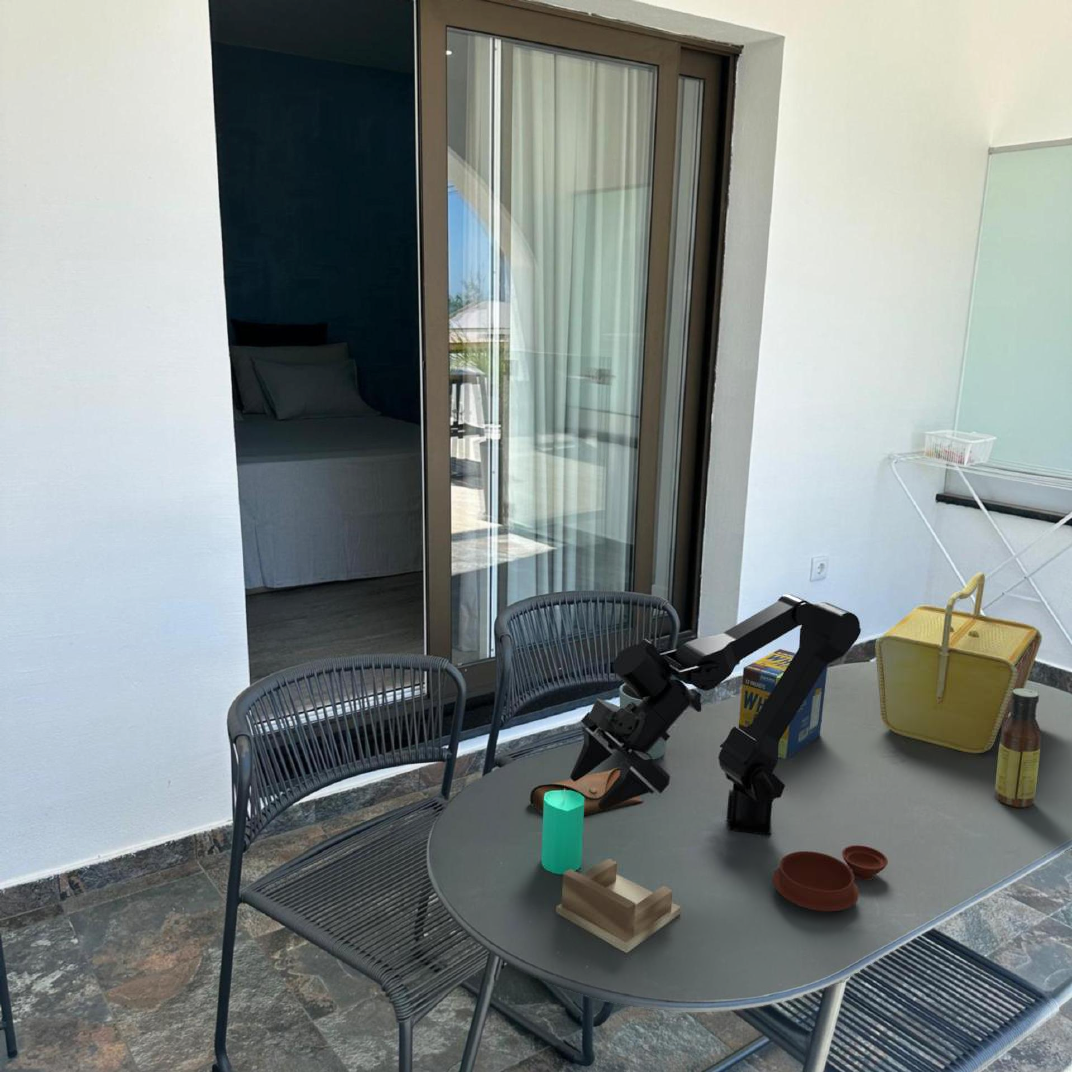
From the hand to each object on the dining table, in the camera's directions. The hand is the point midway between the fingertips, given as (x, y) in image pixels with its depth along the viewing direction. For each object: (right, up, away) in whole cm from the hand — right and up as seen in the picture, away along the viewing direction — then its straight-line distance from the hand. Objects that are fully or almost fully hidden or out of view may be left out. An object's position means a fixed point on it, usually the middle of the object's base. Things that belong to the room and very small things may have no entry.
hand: (585, 793), depth 143 cm
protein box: (+40, -2, +46) cm, 61 cm away
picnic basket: (+77, -1, +56) cm, 96 cm away
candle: (-4, -11, +1) cm, 11 cm away
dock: (+4, -13, -11) cm, 18 cm away
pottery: (+35, -13, -3) cm, 38 cm away
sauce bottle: (+75, -8, +25) cm, 79 cm away
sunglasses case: (+1, -7, +19) cm, 21 cm away
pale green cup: (+13, -3, +39) cm, 42 cm away
